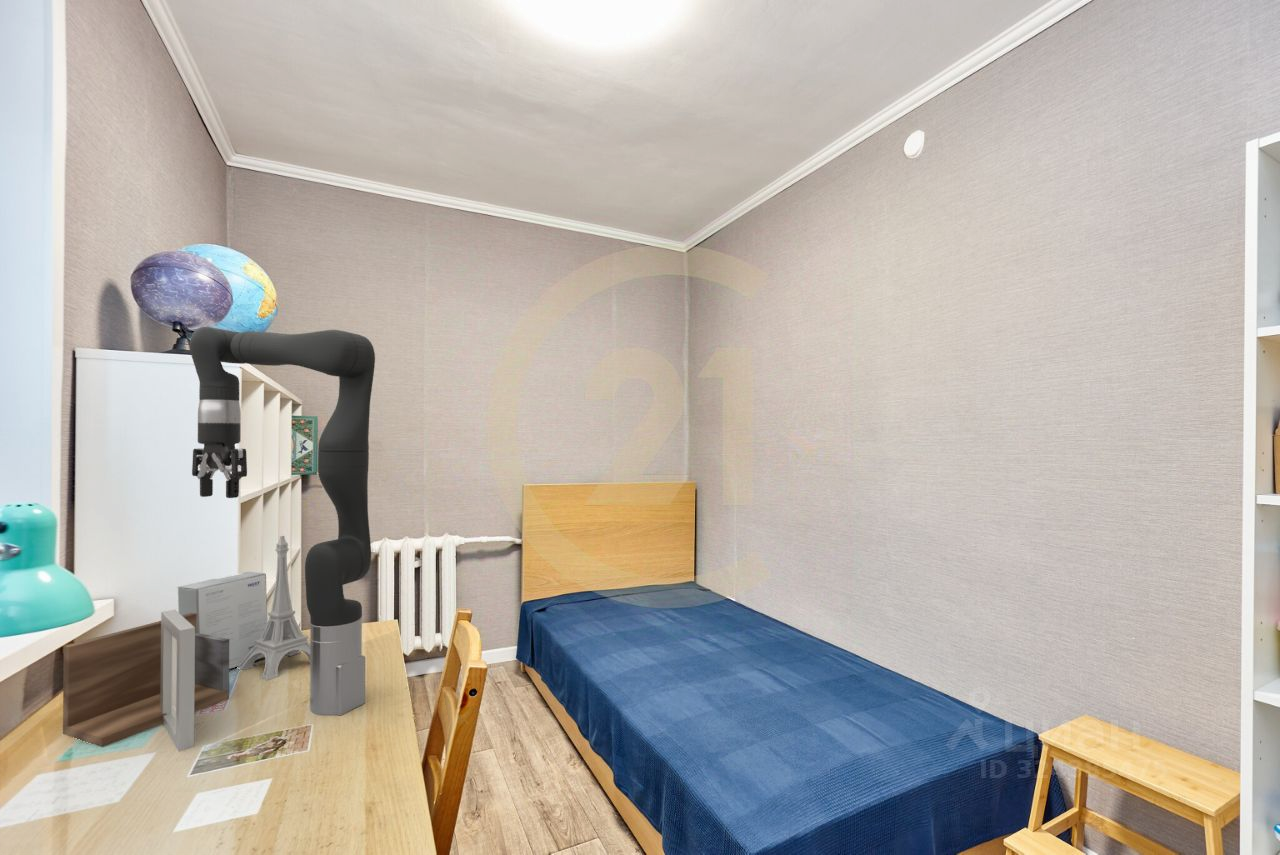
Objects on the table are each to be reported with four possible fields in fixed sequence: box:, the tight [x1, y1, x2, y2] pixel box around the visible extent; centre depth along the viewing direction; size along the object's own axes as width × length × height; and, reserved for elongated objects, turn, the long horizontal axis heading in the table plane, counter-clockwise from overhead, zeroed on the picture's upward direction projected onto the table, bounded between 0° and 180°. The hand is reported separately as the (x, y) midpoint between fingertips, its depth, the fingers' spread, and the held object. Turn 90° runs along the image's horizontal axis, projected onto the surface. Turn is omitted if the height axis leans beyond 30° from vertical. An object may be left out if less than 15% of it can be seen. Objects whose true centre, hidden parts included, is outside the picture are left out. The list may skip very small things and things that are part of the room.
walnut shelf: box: [62, 613, 230, 748], centre depth 112 cm, size 12×21×16 cm, turn 158°
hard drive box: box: [176, 571, 268, 670], centre depth 136 cm, size 16×8×20 cm, turn 154°
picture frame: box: [160, 609, 195, 752], centre depth 106 cm, size 16×3×21 cm, turn 48°
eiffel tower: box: [237, 535, 310, 682], centre depth 137 cm, size 13×13×30 cm
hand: (219, 497), depth 126 cm, fingers open, 8 cm apart
